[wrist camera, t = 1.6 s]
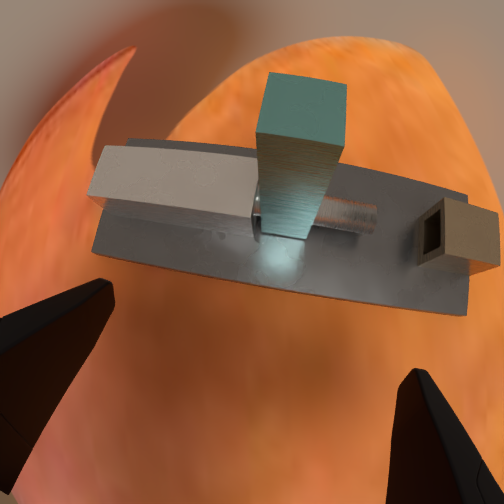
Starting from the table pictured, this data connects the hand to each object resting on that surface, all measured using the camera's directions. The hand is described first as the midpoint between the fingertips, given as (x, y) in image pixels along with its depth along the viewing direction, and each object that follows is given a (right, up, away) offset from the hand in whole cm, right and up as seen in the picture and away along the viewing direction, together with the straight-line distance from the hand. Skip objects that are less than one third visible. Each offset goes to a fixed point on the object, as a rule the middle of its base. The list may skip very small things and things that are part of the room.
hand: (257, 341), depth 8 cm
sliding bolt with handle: (-1, +6, +14) cm, 15 cm away
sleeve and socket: (+2, +5, +15) cm, 16 cm away
